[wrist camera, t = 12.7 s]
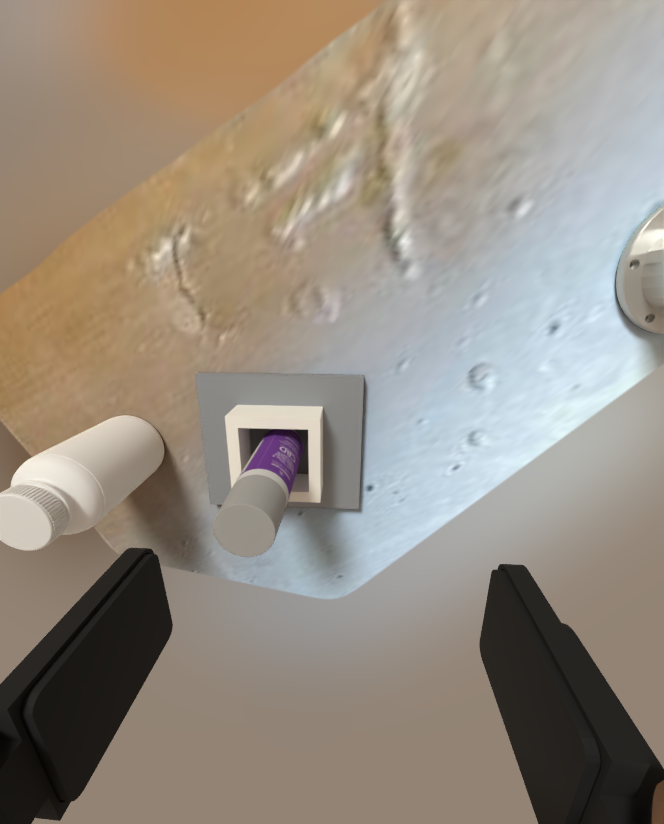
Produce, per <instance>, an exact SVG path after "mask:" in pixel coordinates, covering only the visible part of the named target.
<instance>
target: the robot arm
mask: <svg viewBox="0 0 664 824" xmlns="http://www.w3.org/2000/svg"><path fill="white" fill-rule="evenodd" d="M616 289H617V297H618V300H619V303H620V306H621V308H622V310H623V311H624V313H625V315H626V316H627V317H628V318H629V319H630V320H631V321H632V322H633V323H634V324H635V325H637V326H639V327H640V328H642V329H644V330H647V331H650V332H653V333H659V334H664V204H663V205H661V206H660V207H659V208H657V209H656V210H655V211H654V212H652V213H651V214H650V215H649V216H648V217H647V218H646V219H645V220H644V221H643V222H642V223H641V224H640V225H639V227H638V228H637V229H636V230H635V232H634V233H633V235H632V236H631V238H630V239H629V241H628V242H627V244H626V247H625V249H624V251H623V253H622V255H621V258H620V262H619V265H618V269H617V277H616ZM172 625H173V624H172V619H171V614H170V609H169V605H168V600H167V596H166V591H165V587H164V582H163V578H162V573H161V568H160V563H159V559H158V556H157V555H156V554H154V553H153V551H152V550H151V549H147V548H129V549H127V550H126V551H125V552H124V553H123V554H122V555H121V556H120V557H119V558H118V559H117V560H116V561H115V562H114V563H113V564H112V565H111V567H110V568H109V569H108V570H107V571H106V572H105V573H104V574H103V575H102V576H101V577H100V578H99V579H98V580H97V581H96V583H95V584H94V585H93V586H92V587H91V588H90V589H89V590H88V591H87V592H86V593H85V594H84V595H83V596H82V598H81V599H80V600H79V601H78V602H77V603H76V604H75V605H74V606H73V607H72V608H71V609H70V611H68V612H67V614H66V615H65V616H64V617H63V618H62V619H61V620H60V621H59V622H58V623H57V624H56V626H54V627H53V629H52V630H51V631H50V632H49V633H48V634H47V635H46V636H45V637H44V638H43V639H42V640H41V641H40V643H39V644H38V645H37V646H36V647H35V648H34V649H33V650H32V651H31V652H30V653H29V654H28V655H27V656H26V657H25V658H24V660H23V661H22V662H21V663H20V664H19V665H18V666H17V667H16V668H15V669H14V670H13V671H12V673H10V675H9V676H8V677H7V678H6V679H5V680H4V681H3V682H2V683H1V684H0V824H31V823H32V821H33V820H34V818H35V817H36V818H41V819H50V820H59V821H60V820H61V818H62V816H63V814H64V813H65V811H66V809H67V808H68V806H69V804H70V802H71V801H74V800H76V799H77V798H78V796H80V794H81V793H82V791H83V790H84V788H85V787H86V785H87V783H88V781H89V780H90V778H91V776H92V774H93V773H94V771H95V769H96V767H97V765H98V764H99V762H100V760H101V758H102V757H103V755H104V753H105V751H106V750H107V748H108V746H109V744H110V742H111V741H112V739H113V737H114V735H115V734H116V732H117V730H118V728H119V726H120V724H121V723H122V721H123V719H124V718H125V716H126V714H127V712H128V711H129V709H130V707H131V705H132V703H133V702H134V700H135V698H136V696H137V694H138V693H139V691H140V689H141V687H142V686H143V684H144V682H145V680H146V678H147V676H148V675H149V673H150V671H151V670H152V668H153V666H154V664H155V663H156V660H157V659H158V657H159V655H160V654H161V652H162V650H163V648H164V647H165V645H166V643H167V641H168V639H169V637H170V635H171V632H172ZM480 652H481V657H482V661H483V663H484V666H485V669H486V672H487V675H488V678H489V681H490V684H491V687H492V689H493V692H494V696H495V698H496V701H497V704H498V707H499V709H500V713H501V716H502V718H503V722H504V724H505V727H506V730H507V733H508V736H509V739H510V742H511V745H512V748H513V751H514V754H515V757H516V760H517V762H518V765H519V768H520V771H521V774H522V777H523V780H524V783H525V786H526V788H527V792H528V795H529V797H530V800H531V803H532V806H533V809H534V812H535V814H536V818H537V821H538V824H664V769H663V767H662V765H661V764H660V762H659V761H658V759H657V758H656V756H655V755H654V753H653V752H652V750H651V749H650V747H649V746H648V744H647V742H646V741H645V739H644V738H643V736H642V735H641V734H640V732H639V730H638V729H637V727H636V726H635V724H634V723H633V721H632V719H631V718H630V716H629V715H628V713H627V712H626V710H625V709H624V707H623V706H622V704H621V703H620V701H619V699H618V698H617V696H616V695H615V693H614V692H613V690H612V689H611V687H610V686H609V684H608V683H607V681H606V679H605V678H604V676H603V675H602V673H601V672H600V670H599V669H598V667H597V666H596V664H595V663H594V661H593V660H592V658H591V656H590V655H589V653H588V652H587V650H586V649H585V647H584V646H583V644H582V643H581V641H580V640H579V638H578V637H577V635H576V634H575V632H574V631H573V630H572V629H571V628H570V627H569V626H568V625H566V624H563V623H561V622H560V620H559V619H558V617H557V615H556V614H555V612H554V611H553V609H552V607H551V606H550V604H549V603H548V601H547V600H546V598H545V596H544V595H543V593H542V592H541V590H540V588H539V587H538V585H537V584H536V582H535V581H534V579H533V577H532V576H531V574H530V573H529V571H528V570H527V568H526V567H525V566H524V565H511V564H500V565H499V567H498V570H493V571H492V573H491V579H490V584H489V590H488V596H487V602H486V608H485V614H484V620H483V626H482V631H481V637H480Z"/></svg>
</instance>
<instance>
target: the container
mask: <svg viewBox="0 0 664 824" xmlns="http://www.w3.org/2000/svg"><path fill="white" fill-rule="evenodd" d="M303 448H304V444H303V440H302V438H301V436H300V435H299V433H298V432H297V431H295V430H294V429H270V430H269V431H268V432H267V433H266V434H265V436H264V437H263V439H262V440H261V442H260V444H259V445H258V447H257V448H256V450H255V451H254V453H253V455H252V456H251V458H250V459H249V461H248V463H247V464H246V466H245V467H244V469H243V470H242V472H241V474H240V475H239V477H238V478H237V480H236V482H235V484H234V485H233V487H232V489H231V491H230V492H229V494H228V496H227V498H226V499H225V501H224V503H223V505H222V506H221V508H220V510H219V512H218V513H217V515H216V517H215V519H214V522H213V532H214V536H215V538H216V540H217V541H218V543H219V544H220V545H221V546H222V547H223V548H224V549H225V550H227V551H228V552H230V553H232V554H234V555H238V556H242V557H253V556H258V555H260V554H263V553H264V552H266V551H267V550H268V549H269V548H270V547H271V546H272V544H273V542H274V540H275V537H276V534H277V531H278V528H279V526H280V523H281V520H282V517H283V514H284V511H285V508H286V506H287V503H288V500H289V497H290V493H291V490H292V487H293V483H294V480H295V476H296V473H297V470H298V466H299V463H300V460H301V456H302V453H303Z"/></svg>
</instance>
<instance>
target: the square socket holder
mask: <svg viewBox="0 0 664 824" xmlns="http://www.w3.org/2000/svg"><path fill="white" fill-rule="evenodd" d="M195 377H196V385H197V394H198V402H199V411H200V419H201V428H202V436H203V445H204V453H205V462H206V471H207V479H208V488H209V496H210V504H216V505H223V503H224V501H225V499H226V498H227V496H228V494H229V492H230V491H231V489H232V487H233V485H234V484H235V482H236V480H237V478H238V477H239V475H240V474H241V472H242V470H243V469H244V467H245V466H246V464H247V463H248V461H249V459H250V458H251V456H252V455H253V453H254V451H255V450H256V448H257V447H258V445H259V444H260V442H261V440H262V439H263V437H264V436H265V434H266V433H267V432H268V431H269V430H270V429H294V430H295V431H297V432H298V433H299V435H300V436H301V438H302V440H303V444H304V448H303V453H302V456H301V460H300V463H299V466H298V470H297V473H296V476H295V480H294V483H293V487H292V490H291V493H290V497H289V500H288V503H287V506H286V507H311V508H343V509H359V494H360V468H361V441H362V415H363V389H364V375H335V374H276V373H216V372H199V373H197V374H195Z"/></svg>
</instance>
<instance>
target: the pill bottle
mask: <svg viewBox="0 0 664 824" xmlns="http://www.w3.org/2000/svg"><path fill="white" fill-rule="evenodd" d="M163 458H164V444H163V441H162V438H161V436H160V434H159V433H158V432H157V430H156V429H155V428H154V427H153V426H152V425H151V424H149V423H148V422H146V421H145V420H143V419H140V418H138V417H134V416H126V415H124V416H117V417H114V418H110V419H108V420H106V421H104V422H102V423H100V424H98V425H96V426H94V427H92V428H90V429H88V430H86V431H84V432H82V433H80V434H78V435H76V436H74V437H72V438H70V439H68V440H66V441H64V442H62V443H60V444H58V445H56V446H54V447H51V448H49V449H47V450H45V451H43V452H41V453H39V454H37V455H35V456H33V457H32V458H30V459H28V460H27V461H25V462H24V463H23V464H22V465H21V466H20V467H19V469H18V470H17V471H16V473H15V474H14V476H13V479H12V482H11V488H9V489H7V490H5V491H3V492H2V493H0V540H1V541H2V542H4V543H5V544H7V545H9V546H11V547H14V548H17V549H20V550H38V549H40V548H44V547H46V546H47V545H49V544H50V543H51V542H52V541H54V540H55V539H56V538H57V537H58V536H60V535H69V534H76V533H79V532H82V531H84V530H87V529H89V528H91V527H93V526H94V525H96V524H97V523H98V522H99V521H100V520H101V519H103V518H104V517H105V516H106V515H107V514H108V513H109V512H110V511H112V510H113V509H114V508H115V507H116V506H117V505H118V504H119V503H120V502H122V501H123V500H124V499H125V498H126V497H127V496H128V495H129V494H130V493H132V492H133V491H134V490H135V489H136V488H137V487H138V486H139V485H141V484H142V483H143V482H144V481H145V480H146V479H147V478H148V477H149V476H151V475H152V474H153V473H154V472H155V471H156V470H157V469H158V467H159V466H160V465H161V463H162V461H163Z"/></svg>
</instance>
